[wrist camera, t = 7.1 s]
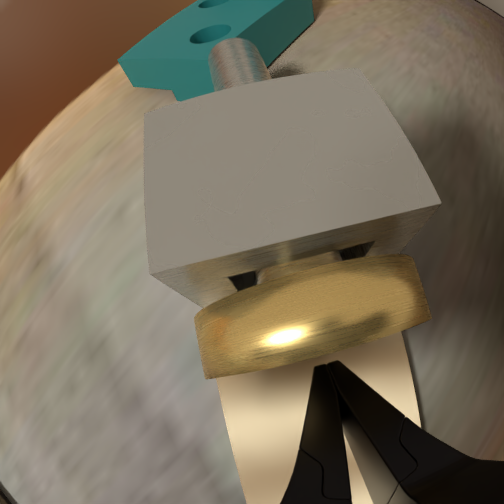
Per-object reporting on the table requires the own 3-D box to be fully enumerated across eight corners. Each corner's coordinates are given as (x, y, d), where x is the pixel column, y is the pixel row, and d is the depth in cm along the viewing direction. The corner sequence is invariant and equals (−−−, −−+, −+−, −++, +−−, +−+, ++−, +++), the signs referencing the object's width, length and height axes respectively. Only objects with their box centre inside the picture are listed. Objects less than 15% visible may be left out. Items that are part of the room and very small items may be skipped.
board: (423, 500, 11) (428, 505, 10) (262, 542, 12) (261, 550, 11) (341, 175, 19) (343, 166, 18) (192, 210, 19) (187, 203, 19)
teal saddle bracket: (235, 15, 30) (214, -50, 21) (314, 20, 26) (302, -57, 17) (139, 96, 26) (91, 17, 16) (227, 110, 22) (183, -5, 12)
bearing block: (369, 284, 15) (441, 203, 7) (223, 320, 16) (149, 274, 7) (336, 189, 18) (359, 67, 9) (206, 220, 18) (144, 113, 10)
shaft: (389, 332, 14) (478, 299, 6) (230, 373, 14) (165, 385, 6) (297, 91, 20) (292, -5, 12) (188, 116, 20) (151, 26, 13)
